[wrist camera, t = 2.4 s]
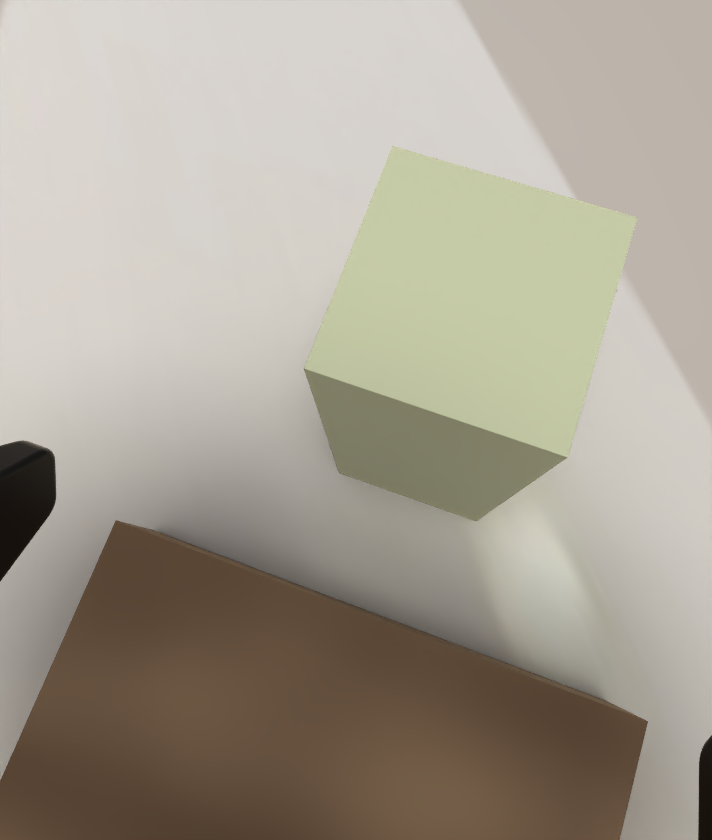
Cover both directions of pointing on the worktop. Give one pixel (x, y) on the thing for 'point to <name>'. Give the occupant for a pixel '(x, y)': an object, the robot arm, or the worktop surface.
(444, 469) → the block
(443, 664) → the base
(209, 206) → the worktop surface
